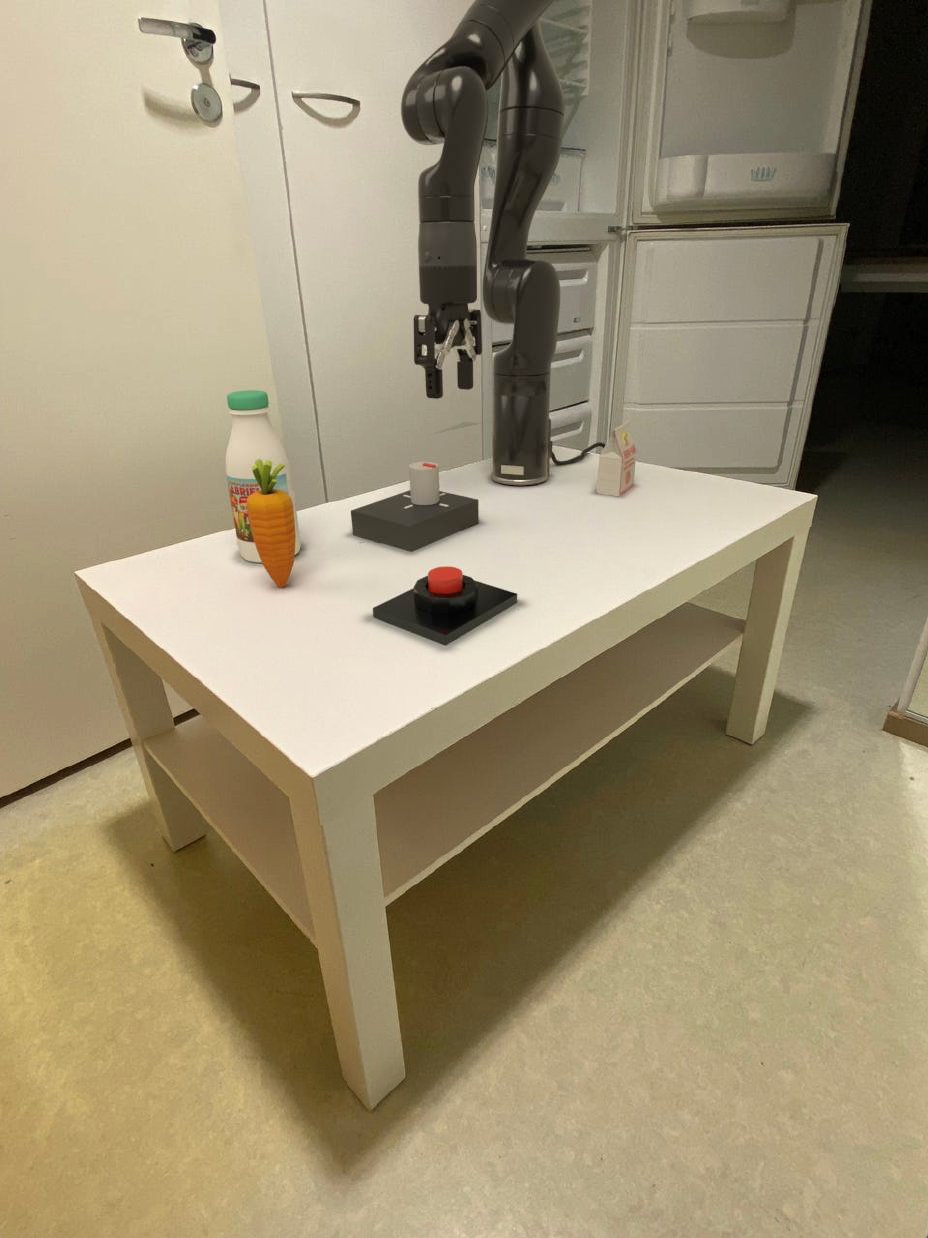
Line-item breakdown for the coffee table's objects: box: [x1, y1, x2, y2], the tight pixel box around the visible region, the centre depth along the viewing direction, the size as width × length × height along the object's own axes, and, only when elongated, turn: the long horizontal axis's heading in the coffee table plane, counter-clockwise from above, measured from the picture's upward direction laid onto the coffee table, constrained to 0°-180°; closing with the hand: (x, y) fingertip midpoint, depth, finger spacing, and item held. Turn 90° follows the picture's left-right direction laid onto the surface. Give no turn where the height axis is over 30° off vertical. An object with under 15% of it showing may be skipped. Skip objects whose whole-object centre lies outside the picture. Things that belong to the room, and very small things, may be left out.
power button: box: [427, 566, 464, 594], centre depth 73 cm, size 4×4×2 cm
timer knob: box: [408, 461, 440, 505], centre depth 96 cm, size 4×4×5 cm
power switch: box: [372, 574, 518, 646], centre depth 74 cm, size 12×10×3 cm
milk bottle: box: [225, 389, 301, 564], centre depth 86 cm, size 8×8×20 cm
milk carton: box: [596, 422, 638, 497], centre depth 111 cm, size 4×7×10 cm, turn 149°
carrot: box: [246, 459, 296, 589], centre depth 77 cm, size 5×5×15 cm
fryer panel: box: [350, 489, 480, 553], centre depth 97 cm, size 14×11×4 cm
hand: (450, 393), depth 98 cm, fingers open, 8 cm apart
